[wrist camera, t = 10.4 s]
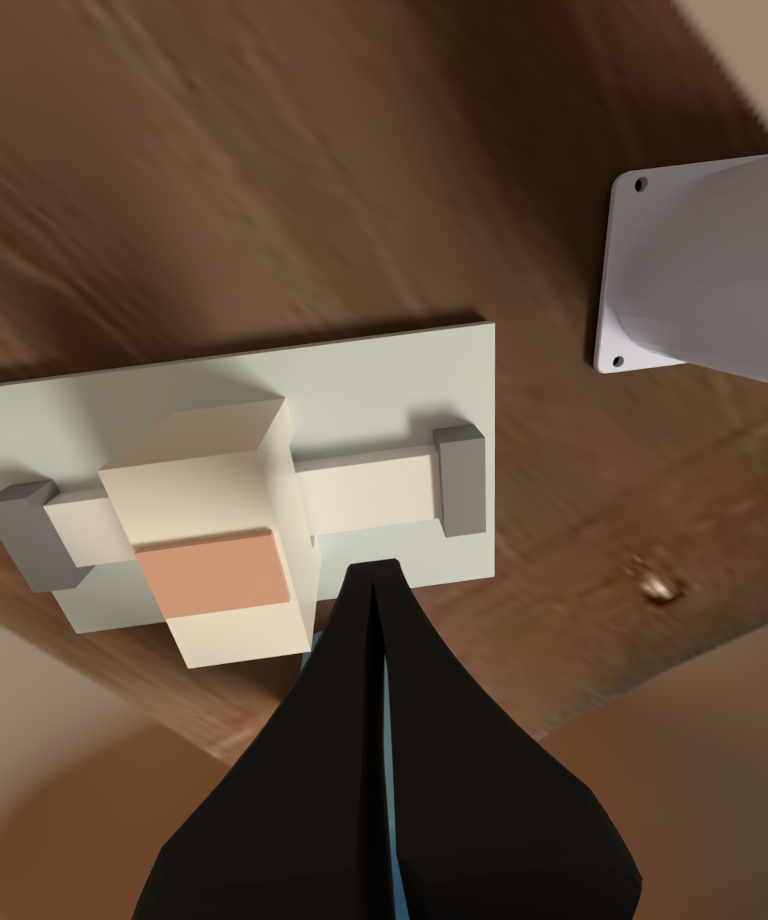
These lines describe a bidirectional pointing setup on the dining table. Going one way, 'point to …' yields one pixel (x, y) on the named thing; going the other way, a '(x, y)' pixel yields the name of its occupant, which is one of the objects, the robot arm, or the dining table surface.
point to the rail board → (312, 449)
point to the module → (221, 531)
